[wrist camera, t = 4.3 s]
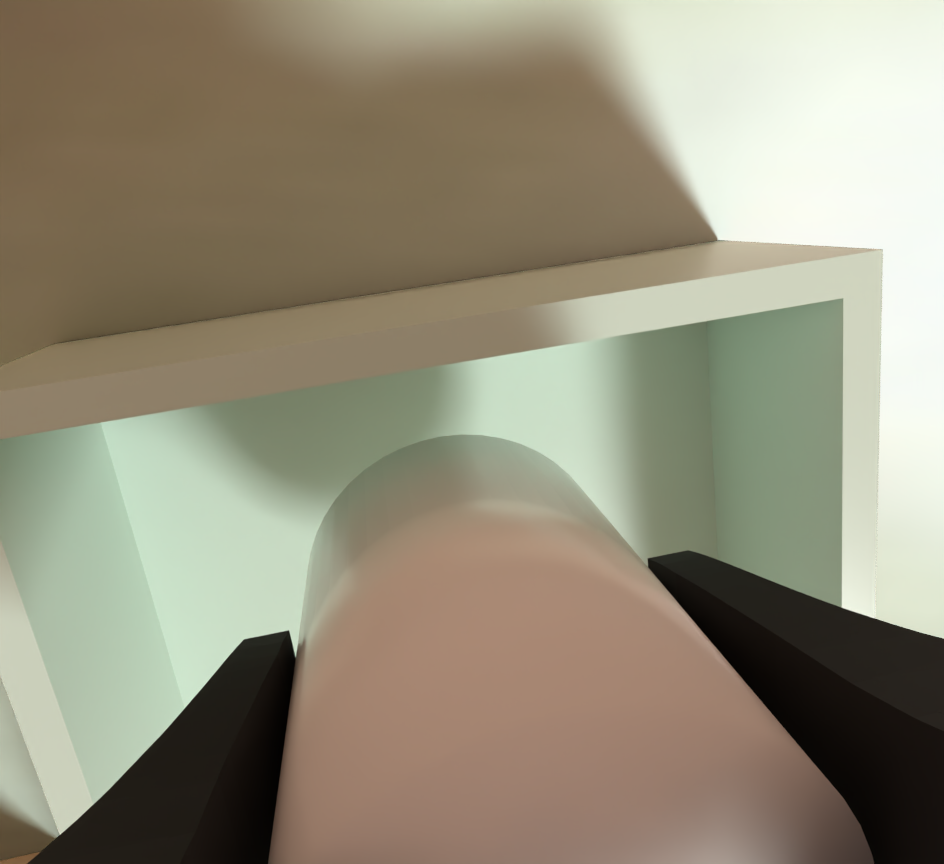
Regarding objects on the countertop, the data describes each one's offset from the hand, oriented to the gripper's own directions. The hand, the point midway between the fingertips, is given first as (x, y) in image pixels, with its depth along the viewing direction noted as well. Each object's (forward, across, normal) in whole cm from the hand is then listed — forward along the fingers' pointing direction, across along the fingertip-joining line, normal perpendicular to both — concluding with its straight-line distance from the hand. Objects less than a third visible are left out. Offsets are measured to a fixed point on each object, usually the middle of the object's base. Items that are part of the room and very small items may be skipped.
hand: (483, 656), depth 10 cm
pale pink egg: (+2, 0, 0) cm, 2 cm away
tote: (+6, 0, +4) cm, 7 cm away
